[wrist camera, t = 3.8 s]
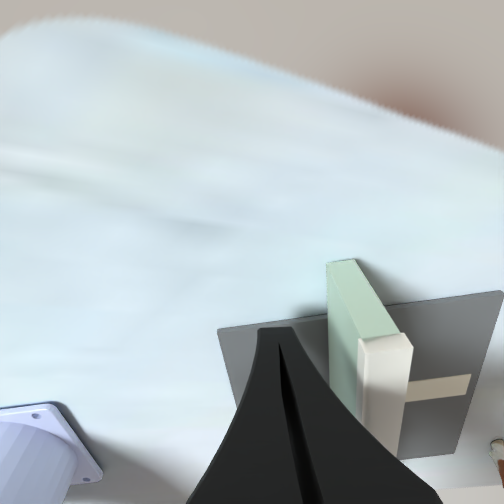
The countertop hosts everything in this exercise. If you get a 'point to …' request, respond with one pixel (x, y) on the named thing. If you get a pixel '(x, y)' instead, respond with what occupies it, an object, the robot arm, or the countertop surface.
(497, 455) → the bull figurine
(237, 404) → the board
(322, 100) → the countertop surface
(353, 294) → the fence gate
